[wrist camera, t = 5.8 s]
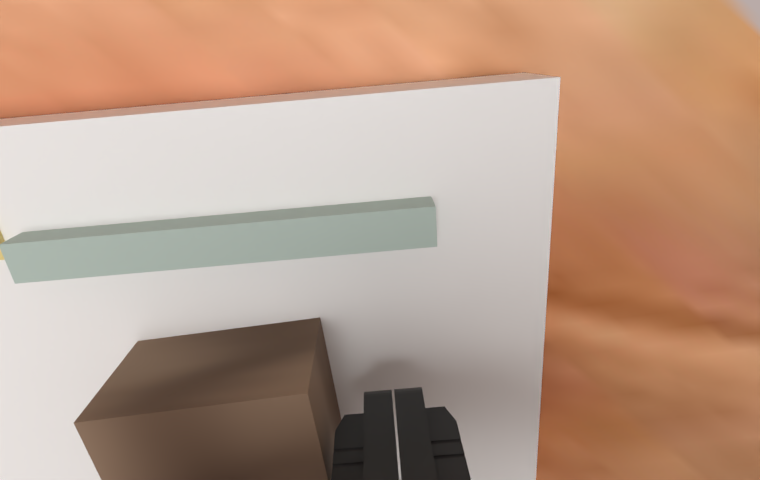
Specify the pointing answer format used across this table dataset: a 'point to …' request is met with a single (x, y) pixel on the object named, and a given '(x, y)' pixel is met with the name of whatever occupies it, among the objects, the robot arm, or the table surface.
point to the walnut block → (218, 407)
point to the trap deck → (285, 250)
